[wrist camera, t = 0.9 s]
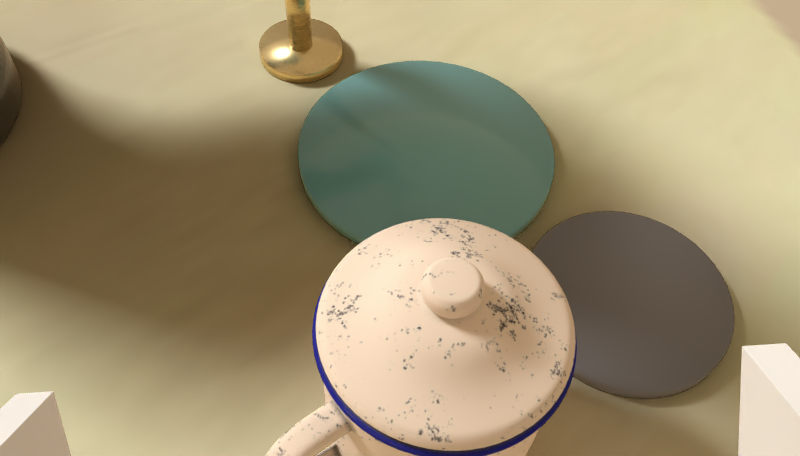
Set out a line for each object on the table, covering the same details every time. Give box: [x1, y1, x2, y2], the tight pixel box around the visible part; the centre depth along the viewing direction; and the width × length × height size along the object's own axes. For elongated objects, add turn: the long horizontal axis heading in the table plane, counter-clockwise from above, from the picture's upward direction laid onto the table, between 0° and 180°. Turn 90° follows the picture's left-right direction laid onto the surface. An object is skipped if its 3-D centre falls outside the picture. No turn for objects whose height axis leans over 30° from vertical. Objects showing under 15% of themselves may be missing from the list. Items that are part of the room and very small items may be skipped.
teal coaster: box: [298, 61, 555, 245], centre depth 42 cm, size 14×14×1 cm
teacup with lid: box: [266, 218, 577, 456], centre depth 28 cm, size 12×9×12 cm
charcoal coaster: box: [532, 211, 734, 399], centre depth 36 cm, size 10×10×1 cm
